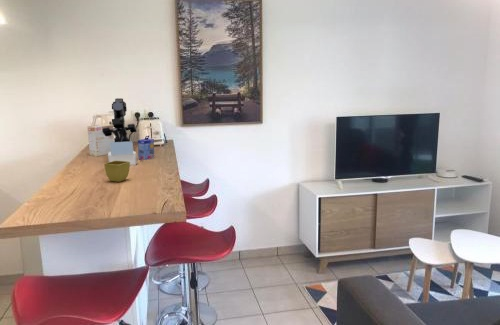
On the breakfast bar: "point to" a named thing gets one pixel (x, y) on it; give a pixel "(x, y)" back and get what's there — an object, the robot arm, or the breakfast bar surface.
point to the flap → (121, 148)
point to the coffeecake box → (99, 140)
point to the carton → (123, 158)
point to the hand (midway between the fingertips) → (120, 142)
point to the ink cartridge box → (146, 148)
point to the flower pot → (117, 170)
